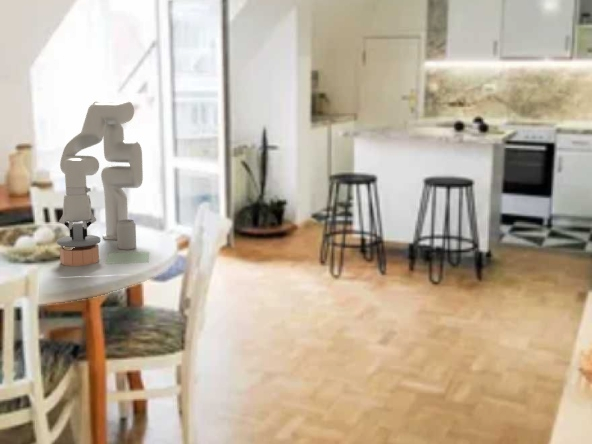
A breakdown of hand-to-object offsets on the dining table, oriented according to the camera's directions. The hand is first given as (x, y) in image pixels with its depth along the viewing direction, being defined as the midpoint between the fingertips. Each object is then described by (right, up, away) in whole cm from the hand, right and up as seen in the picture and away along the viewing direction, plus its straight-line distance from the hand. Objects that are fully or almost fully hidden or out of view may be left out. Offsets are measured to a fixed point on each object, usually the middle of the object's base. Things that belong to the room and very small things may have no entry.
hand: (78, 238), depth 279 cm
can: (+13, -5, +22) cm, 26 cm away
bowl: (0, -9, +2) cm, 9 cm away
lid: (0, -1, 0) cm, 1 cm away
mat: (+17, -8, +7) cm, 20 cm away
